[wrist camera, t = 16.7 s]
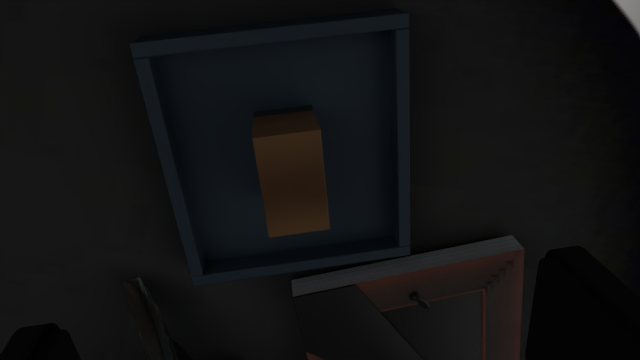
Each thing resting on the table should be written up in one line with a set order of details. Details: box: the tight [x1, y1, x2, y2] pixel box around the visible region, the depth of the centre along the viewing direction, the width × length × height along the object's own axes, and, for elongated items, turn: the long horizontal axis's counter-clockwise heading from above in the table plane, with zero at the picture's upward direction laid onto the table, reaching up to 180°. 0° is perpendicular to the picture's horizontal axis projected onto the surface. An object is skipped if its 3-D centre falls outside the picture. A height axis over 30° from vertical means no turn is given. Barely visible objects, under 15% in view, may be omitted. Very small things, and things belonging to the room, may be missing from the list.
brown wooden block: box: [252, 105, 330, 238], centre depth 26 cm, size 6×4×4 cm, turn 5°
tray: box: [129, 9, 410, 286], centre depth 28 cm, size 16×15×2 cm
